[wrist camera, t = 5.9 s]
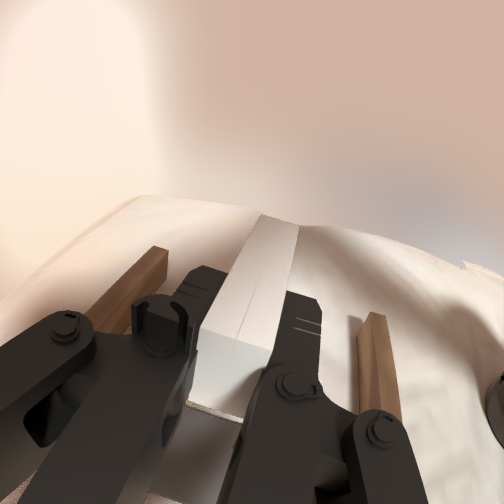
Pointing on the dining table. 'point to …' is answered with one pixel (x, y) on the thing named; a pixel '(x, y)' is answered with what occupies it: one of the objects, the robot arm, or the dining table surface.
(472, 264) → the dining table surface
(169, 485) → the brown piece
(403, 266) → the dining table surface
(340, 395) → the dining table surface
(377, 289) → the dining table surface
